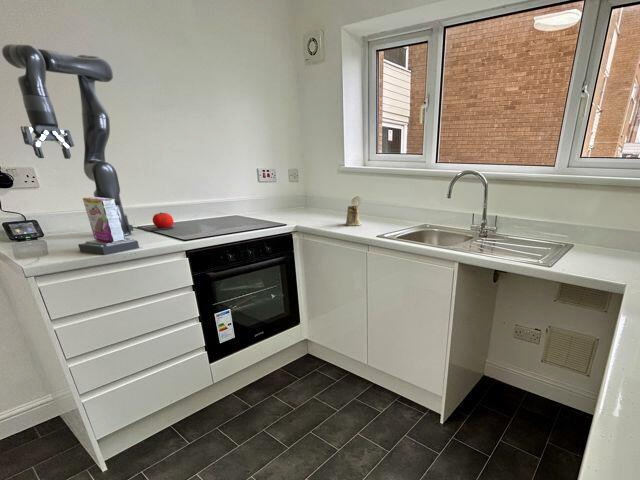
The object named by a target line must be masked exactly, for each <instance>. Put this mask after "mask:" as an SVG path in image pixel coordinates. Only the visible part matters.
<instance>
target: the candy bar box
mask: <svg viewBox="0 0 640 480" xmlns="http://www.w3.org/2000/svg"><path fill="white" fill-rule="evenodd" d="M82 202H83V204H84V208H85V212H86V214H87V218H88V221H89V225H90V227H91V231H92V234H93V235H92V236H93V238H94V240H103V241H110V242H118V241H123V240H125V238H126V237H125V236H124V234H123V230H122V226H121V222H120V218H119V215H118V211H117V207H116V203H115V199H109V198H100V197H94V196H89V197H82Z"/></svg>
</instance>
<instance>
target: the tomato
mask: <svg viewBox="0 0 640 480" xmlns="http://www.w3.org/2000/svg"><path fill="white" fill-rule="evenodd" d="M152 223H153V225H154V226H155V227H156V229H160V228H168V227H173V225H174V223H175V222H174V218H173V216H172V215H171V214H169V213H167V212H158V213H155V214H154V215H153V216H152Z"/></svg>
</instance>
